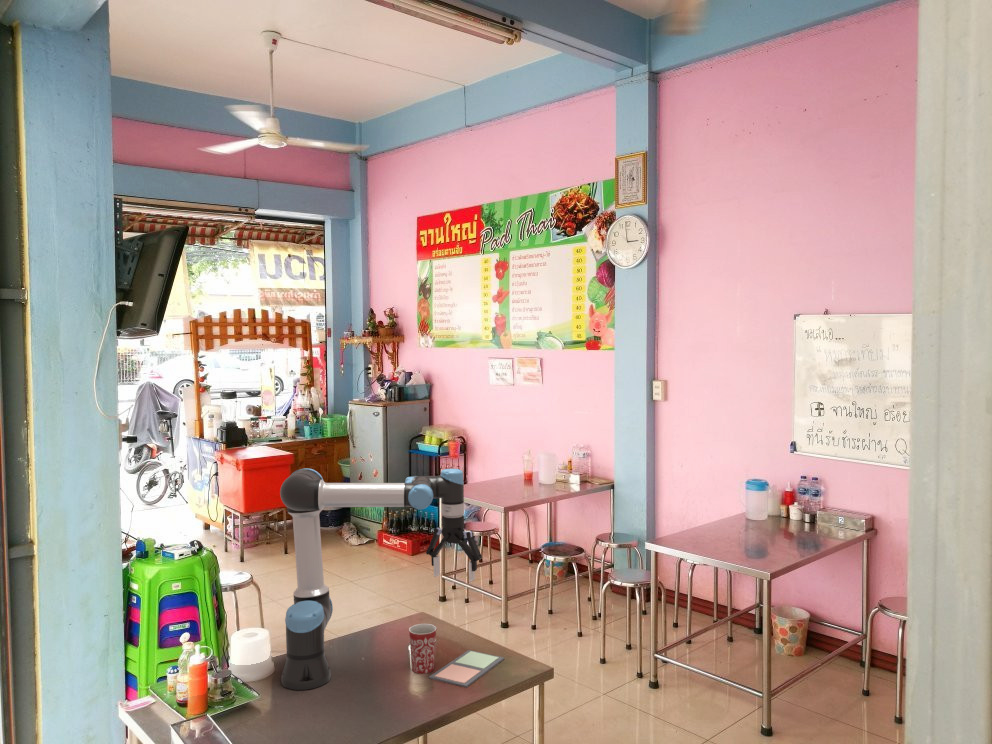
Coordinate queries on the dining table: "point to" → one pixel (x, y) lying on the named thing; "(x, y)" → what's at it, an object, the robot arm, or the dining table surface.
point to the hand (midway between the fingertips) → (454, 578)
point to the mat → (466, 668)
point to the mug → (422, 647)
